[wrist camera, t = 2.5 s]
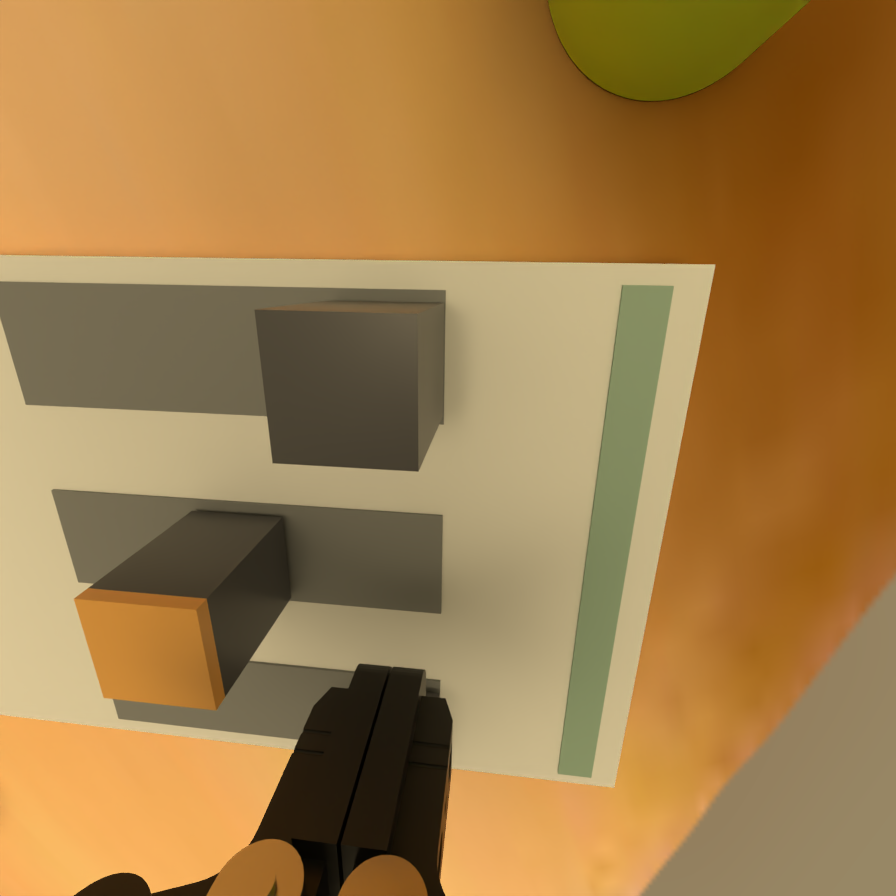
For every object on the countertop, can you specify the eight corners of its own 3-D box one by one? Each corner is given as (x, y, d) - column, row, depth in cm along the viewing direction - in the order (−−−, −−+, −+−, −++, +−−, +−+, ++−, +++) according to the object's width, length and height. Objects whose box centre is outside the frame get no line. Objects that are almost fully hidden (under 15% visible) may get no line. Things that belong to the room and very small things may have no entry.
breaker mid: (191, 510, 15) (73, 598, 11) (282, 517, 15) (196, 610, 11) (206, 590, 16) (103, 697, 12) (291, 597, 16) (216, 710, 12)
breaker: (330, 300, 12) (254, 309, 9) (444, 303, 12) (417, 314, 8) (337, 411, 13) (272, 463, 10) (442, 416, 13) (418, 471, 9)
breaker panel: (-129, 255, 16) (-219, 252, 14) (685, 266, 13) (716, 264, 11) (26, 675, 22) (-21, 714, 20) (603, 738, 19) (614, 790, 17)
